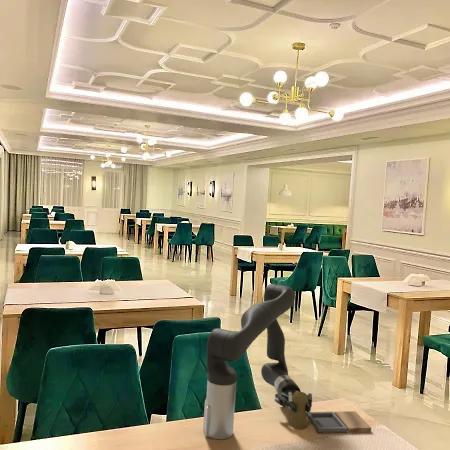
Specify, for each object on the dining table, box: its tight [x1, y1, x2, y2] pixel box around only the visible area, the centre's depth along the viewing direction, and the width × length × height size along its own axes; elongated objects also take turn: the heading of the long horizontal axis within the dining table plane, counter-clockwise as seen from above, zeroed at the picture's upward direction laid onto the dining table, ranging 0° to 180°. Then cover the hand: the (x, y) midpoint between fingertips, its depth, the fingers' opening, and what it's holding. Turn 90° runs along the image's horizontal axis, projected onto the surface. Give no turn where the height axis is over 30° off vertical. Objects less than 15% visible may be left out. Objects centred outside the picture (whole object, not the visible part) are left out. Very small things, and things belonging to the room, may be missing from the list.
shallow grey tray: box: [306, 411, 348, 434], centre depth 163 cm, size 10×12×2 cm
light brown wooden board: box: [333, 411, 372, 434], centre depth 165 cm, size 8×12×2 cm, turn 10°
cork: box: [288, 391, 308, 430], centre depth 161 cm, size 6×6×11 cm
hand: (302, 409), depth 159 cm, fingers closed on cork, 4 cm apart
